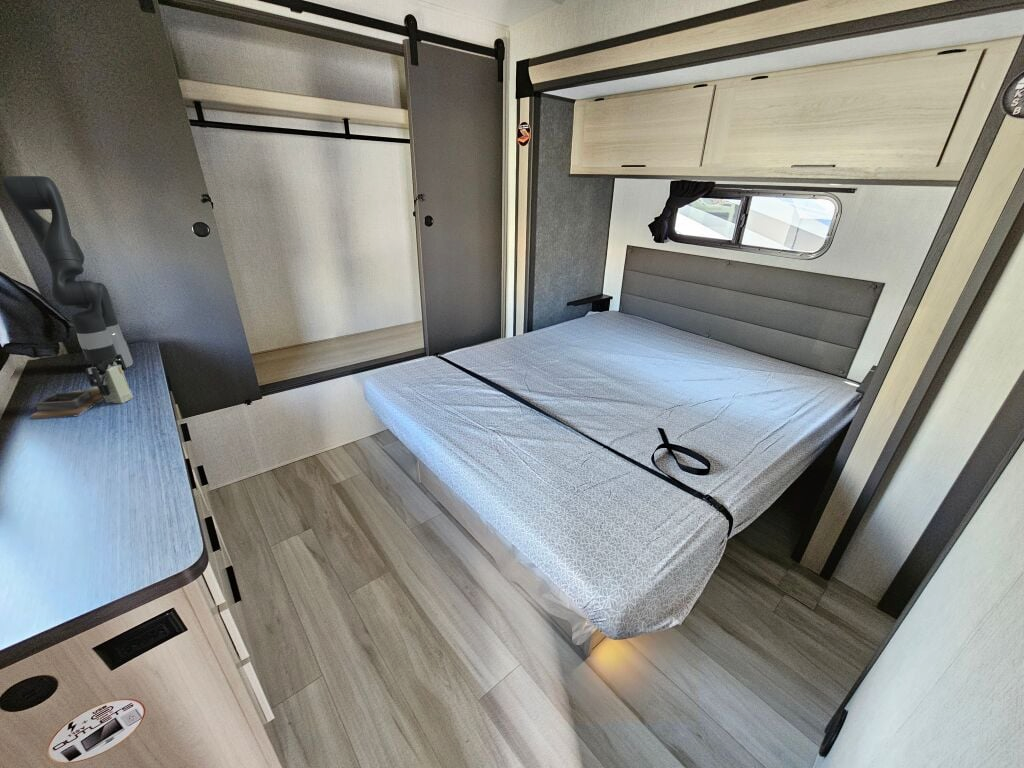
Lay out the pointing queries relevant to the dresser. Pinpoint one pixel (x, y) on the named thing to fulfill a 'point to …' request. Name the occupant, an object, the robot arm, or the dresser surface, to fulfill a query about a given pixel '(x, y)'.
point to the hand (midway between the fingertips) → (114, 389)
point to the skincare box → (117, 386)
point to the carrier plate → (67, 403)
